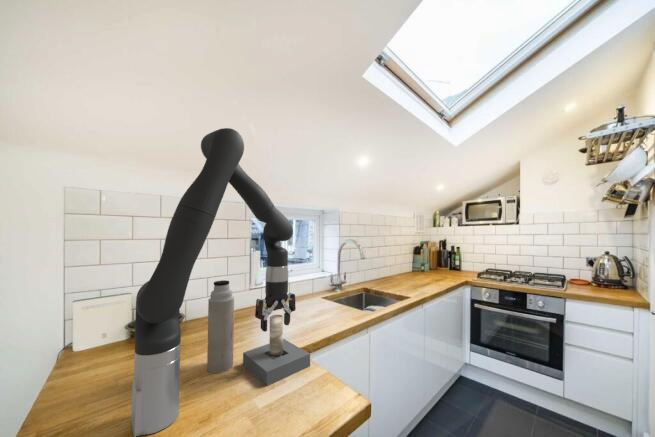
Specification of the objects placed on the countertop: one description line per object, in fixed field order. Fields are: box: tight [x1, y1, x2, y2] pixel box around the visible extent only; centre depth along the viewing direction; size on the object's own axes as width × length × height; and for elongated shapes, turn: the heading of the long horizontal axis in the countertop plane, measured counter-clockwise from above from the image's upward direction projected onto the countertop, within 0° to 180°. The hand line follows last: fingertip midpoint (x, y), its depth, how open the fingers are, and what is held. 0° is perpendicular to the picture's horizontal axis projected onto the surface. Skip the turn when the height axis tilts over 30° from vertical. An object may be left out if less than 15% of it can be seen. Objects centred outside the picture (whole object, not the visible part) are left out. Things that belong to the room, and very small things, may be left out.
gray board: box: [242, 338, 311, 387], centre depth 85 cm, size 16×16×4 cm
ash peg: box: [269, 314, 284, 360], centre depth 86 cm, size 4×4×16 cm
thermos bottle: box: [206, 279, 235, 374], centre depth 85 cm, size 8×8×28 cm
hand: (275, 327), depth 86 cm, fingers open, 8 cm apart
